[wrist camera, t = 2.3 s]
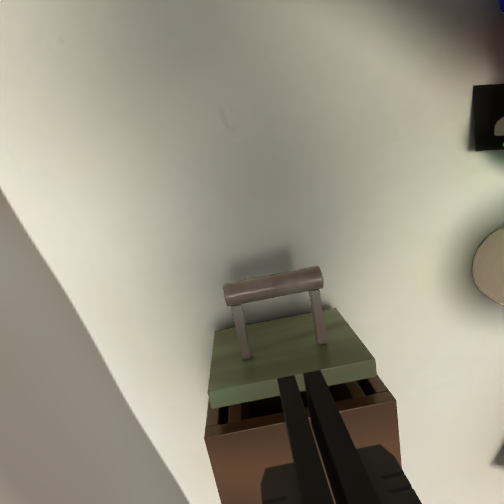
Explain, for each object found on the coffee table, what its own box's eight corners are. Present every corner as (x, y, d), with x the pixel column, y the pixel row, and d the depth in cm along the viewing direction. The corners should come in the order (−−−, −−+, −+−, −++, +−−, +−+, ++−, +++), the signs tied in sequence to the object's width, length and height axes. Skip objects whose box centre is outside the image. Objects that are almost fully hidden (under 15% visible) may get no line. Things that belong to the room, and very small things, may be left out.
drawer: (200, 269, 24) (186, 308, 17) (327, 244, 24) (367, 273, 17) (246, 465, 28) (250, 562, 21) (352, 444, 28) (392, 533, 21)
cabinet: (213, 350, 26) (203, 438, 18) (342, 325, 27) (396, 399, 18) (245, 485, 30) (251, 615, 21) (359, 463, 30) (411, 582, 21)
